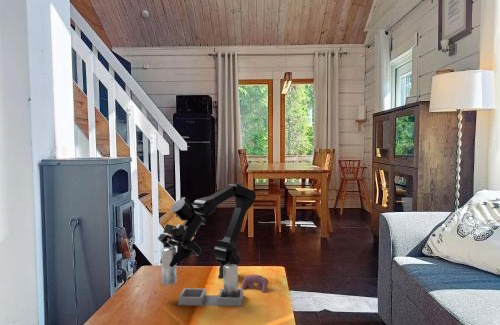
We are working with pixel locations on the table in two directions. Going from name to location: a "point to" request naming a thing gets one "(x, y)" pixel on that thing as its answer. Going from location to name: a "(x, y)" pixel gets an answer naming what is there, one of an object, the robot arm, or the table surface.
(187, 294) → the grey socket holder
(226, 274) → the billet
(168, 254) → the cylinder
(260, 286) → the video game controller
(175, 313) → the table surface
